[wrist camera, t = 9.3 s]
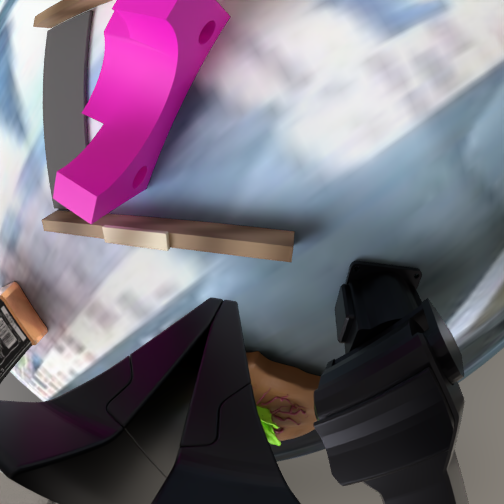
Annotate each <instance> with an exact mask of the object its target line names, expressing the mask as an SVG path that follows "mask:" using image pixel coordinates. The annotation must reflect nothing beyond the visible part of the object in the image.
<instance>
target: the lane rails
mask: <svg viewBox="0 0 504 504" xmlns="http://www.w3.org/2000/svg"><path fill="white" fill-rule="evenodd" d="M109 1H112V0H62V1H60V2H58V3H57V4H55V5H53V6H51V7H50V8H48V9H46V10H45V11H43V12H42V13H40V14H38V15H37V16H35V20H34V25H33V27H44V28H52V27H54V26H56V25H57V24H59V23H61V22H63V21H65V20H67V19H69V18H71V17H73V16H76V15H78V14H80V13H82V12H84V11H87V10H89V9H91V8H94V7H96V6H99V5H101V4H104V3H106V2H109ZM42 223H43V227H44V231H50V232H57V233H64V234H72V235H80V236H87V237H95V238H102V239H105V242H106V243H113V244H120V245H128V246H135V247H142V248H150V249H157V250H165V251H168V250H169V249H170V247H172V248H180V249H188V250H196V251H204V252H212V253H220V254H228V255H236V256H244V257H252V258H260V259H269V260H277V261H285V262H291V261H292V253H293V244H294V231H285V230H277V229H268V228H259V227H250V226H240V225H231V224H221V223H211V222H201V221H190V220H179V219H168V218H157V217H145V216H132V215H119V214H106V215H105V216H103V217H102V218H100V219H99V220H97V221H96V222H94V223H93V224H90V223H88V222H86V221H85V220H84V219H82V218H81V217H79V216H78V215H76V214H75V213H73V212H72V211H59V210H57V211H55V212H54V213H52V214H50V215H49V216H47V217H46V218H44V219H42Z"/></svg>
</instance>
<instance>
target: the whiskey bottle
mask: <svg viewBox="0 0 504 504" xmlns="http://www.w3.org/2000/svg"><path fill="white" fill-rule="evenodd" d="M47 332H48V331H47V327H46V326H45V325H44V323H43V322H42V320H41V319H40V317H39V316H38V315H37V313H36V312H35V310H34V309H33V307H32V305H31V304H30V302H29V301H28V299H27V298H26V296H25V294H24V293H23V291H22V289H21V288H20V286H19V285H18V284H17V283H16V282H12V283H10V284H8V285H6V286H4V287H1V288H0V383H1V382H2V380H3V379H4V378H5V377H6V375H7V374H8V373H9V372H10V371H11V369H12V368H13V367H14V366H15V364H16V363H17V362H18V361H19V360H20V359H21V357H22V356H23V355H24V354H25V353H26V351H27V350H28V349H29V348H30V347H31V346H32V345H36V344H37V343H38V342H39V341H40V340H41V339H42V338H43V336H44V335H45V334H46V333H47Z"/></svg>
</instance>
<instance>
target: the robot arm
mask: <svg viewBox="0 0 504 504" xmlns="http://www.w3.org/2000/svg"><path fill="white" fill-rule="evenodd" d="M356 266H358V267H359V268H358V269H354V267H356ZM415 274H417V275H416V276H414V275H415ZM421 277H422V273H421V271H420V270H419V269H417V268H409V267H401V266H393V265H385V264H377V263H369V262H360V261H354V262H352V263H351V265H350V268H349V272H348V276H347V279H346V283H345V284H343V285H342V286H341V288H340V291H339V295H338V299H337V302H336V306H335V315H336V326H337V338H338V341H339V342H340V343H345V353H346V354H345V355H343V356H341V357H340V358H338V359H336V360H335V359H333V360H332V361H330V362H328V364H327V367H326V370H325V371H324V372H323V374H322V375H321V377H320V381H319V386H318V389H316V390H315V391H314V395H313V398H314V412H315V416H316V419H317V421H316V422H314V423H313V426H314V428H315V429H316V431H317V432H318V434H319V435H320V437H321V439H322V441H323V443H324V445H325V448H326V451H327V454H328V458H329V463H330V467H331V472H332V475H333V476H334V477H335V479H336V480H337V481H338V482H339V483H340V484H341V485H342V486H347V485H351V484H355V483H359V482H363V483H364V484H366V485H367V486H369V487H370V488H372V489H373V490H375V491H376V492H378V493H379V494H380V496H381V498H382V501H383V504H469V503H468V498H467V494H466V490H465V486H464V482H463V478H462V474H461V470H460V467H459V463H458V460H457V457H456V453H455V445H456V441H457V437H458V433H459V428H460V424H461V419H462V413H463V408H464V397H463V395H462V392H461V389H460V387H459V384H458V382H457V381H459V380H460V379H462V378H463V377H464V370H463V362H462V355H461V353H460V350H459V348H458V346H457V344H456V342H455V340H454V338H453V336H452V334H451V332H450V330H449V328H448V327H447V325H446V324H445V322H444V321H443V319H442V318H441V316H440V315H439V313H438V312H437V310H436V309H435V308H434V306H433V305H432V303H431V302H430V300H429V299H428V298H427V299H426V300H424V301H423V302H422V301H421V299H420V297H419V295H418V293H417V291H416V289H417V287H418V284H419V282H420V279H421ZM0 504H300V502H299V501H298V500H297V498H296V497H295V495H294V494H293V493H292V491H291V490H290V488H289V487H288V485H287V483H286V481H285V479H284V477H283V475H282V473H281V471H280V469H279V467H278V464H277V462H276V459H275V457H274V454H273V452H272V450H271V447H270V444H269V442H268V439H267V437H266V434H265V432H264V429H263V426H262V423H261V420H260V417H259V414H258V411H257V407H256V403H255V398H254V393H253V388H252V385H251V378H250V373H249V367H248V362H247V356H246V350H245V345H244V339H243V333H242V327H241V322H240V316H239V310H238V304H237V302H236V301H231V300H224V301H223V300H222V299H217V298H209V299H207V300H206V301H205V302H203V303H202V304H201V305H199V306H198V307H196V308H195V309H194V310H192V311H191V312H189V313H188V314H187V315H185V316H184V317H182V318H181V319H180V320H178V321H177V322H175V323H174V324H173V325H171V326H170V327H168V328H167V329H166V330H164V331H163V332H161V333H160V334H159V335H157V336H156V337H154V338H153V339H152V340H150V341H149V342H147V343H146V344H145V345H143V346H142V347H140V348H139V349H137V350H136V351H135V352H133V353H132V354H130V356H127V357H126V358H124V359H123V360H122V361H120V362H119V363H117V364H116V365H114V366H113V367H111V368H110V369H108V370H107V371H105V372H103V373H102V374H100V375H98V376H96V377H95V378H93V379H91V380H89V381H87V382H86V383H84V384H82V385H80V386H78V387H76V388H74V389H72V390H71V391H69V392H67V393H65V394H63V395H61V396H59V397H57V398H55V399H52V400H49V401H45V402H15V401H2V400H0Z"/></svg>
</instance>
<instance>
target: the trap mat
mask: <svg viewBox="0 0 504 504" xmlns="http://www.w3.org/2000/svg"><path fill="white" fill-rule="evenodd" d="M92 13H93V11H88V12H85V13H83V14H81V15H78V16H76V17H74V18H72V19H70V20H68V21H66V22H64V23H62V24H60V25H58V26H56V27H54V28H52V29H51V30H49V31H47V39H46V48H45V58H44V74H43V123H44V139H45V150H46V160H47V168H48V175H49V182H50V188H51V194H52V200H53V205H54V208H58V209H67V208H66V207H64V206H63V205H62V204H60V203H59V202H57V201H56V200H54V199H53V194H54V186H55V180H56V173H57V171H58V170H60V169H62V168H63V167H65V166H66V165H67V164H69V163H70V162H71V161H72V160H74V159H75V158H76V157H77V156H78V155H79V154H80V153H81V152H82V151H83V150H84V149H85V148H86V147H87V145H88V134H87V116H86V115H84V114H82V111H83V110H84V108H85V106H86V89H87V61H88V47H89V37H90V28H91V20H92Z"/></svg>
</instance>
